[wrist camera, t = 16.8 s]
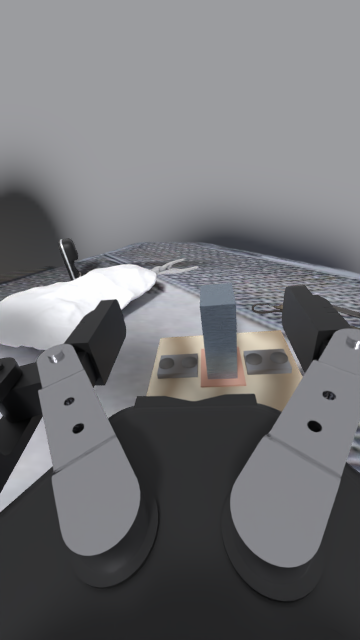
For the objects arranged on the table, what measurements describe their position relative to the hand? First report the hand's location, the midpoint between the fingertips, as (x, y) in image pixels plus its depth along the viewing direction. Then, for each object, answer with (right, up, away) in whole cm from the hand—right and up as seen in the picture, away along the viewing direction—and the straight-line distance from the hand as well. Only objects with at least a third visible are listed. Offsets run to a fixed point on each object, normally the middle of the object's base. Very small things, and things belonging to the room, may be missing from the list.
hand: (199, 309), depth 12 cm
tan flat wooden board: (+5, -8, +20) cm, 22 cm away
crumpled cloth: (-22, 0, +40) cm, 45 cm away
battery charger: (-31, +11, +61) cm, 70 cm away
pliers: (-5, +13, +58) cm, 59 cm away
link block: (+4, -6, +20) cm, 21 cm away
